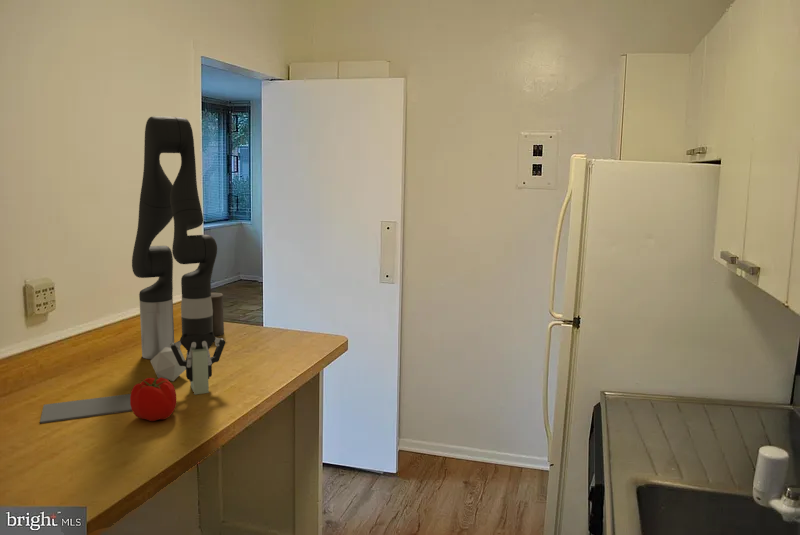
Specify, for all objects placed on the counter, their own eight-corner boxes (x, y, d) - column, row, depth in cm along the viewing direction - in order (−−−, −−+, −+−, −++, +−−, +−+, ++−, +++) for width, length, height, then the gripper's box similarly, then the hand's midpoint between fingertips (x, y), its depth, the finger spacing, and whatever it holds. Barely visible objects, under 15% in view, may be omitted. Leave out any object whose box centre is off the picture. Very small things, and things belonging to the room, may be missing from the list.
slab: (190, 385, 163) (189, 345, 161) (204, 384, 164) (203, 343, 162) (194, 394, 156) (192, 352, 155) (208, 392, 158) (207, 350, 156)
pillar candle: (208, 339, 207) (207, 295, 205) (188, 334, 212) (186, 291, 210) (230, 333, 216) (229, 290, 213) (210, 329, 220) (209, 287, 218)
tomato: (150, 430, 135) (148, 392, 133) (119, 419, 140) (117, 382, 139) (190, 415, 143) (189, 378, 142) (159, 405, 149) (158, 370, 148)
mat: (43, 406, 147) (43, 404, 147) (135, 394, 156) (135, 393, 155) (40, 423, 137) (39, 421, 137) (138, 410, 146) (138, 408, 146)
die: (195, 378, 170) (186, 345, 174) (181, 372, 162) (173, 337, 166) (165, 389, 170) (157, 356, 173) (150, 384, 161) (142, 348, 165)
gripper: (223, 308, 164) (224, 371, 166) (165, 313, 157) (168, 378, 160) (228, 314, 157) (229, 380, 160) (168, 319, 151) (171, 387, 153)
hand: (199, 379), depth 160 cm, fingers closed on slab, 3 cm apart
